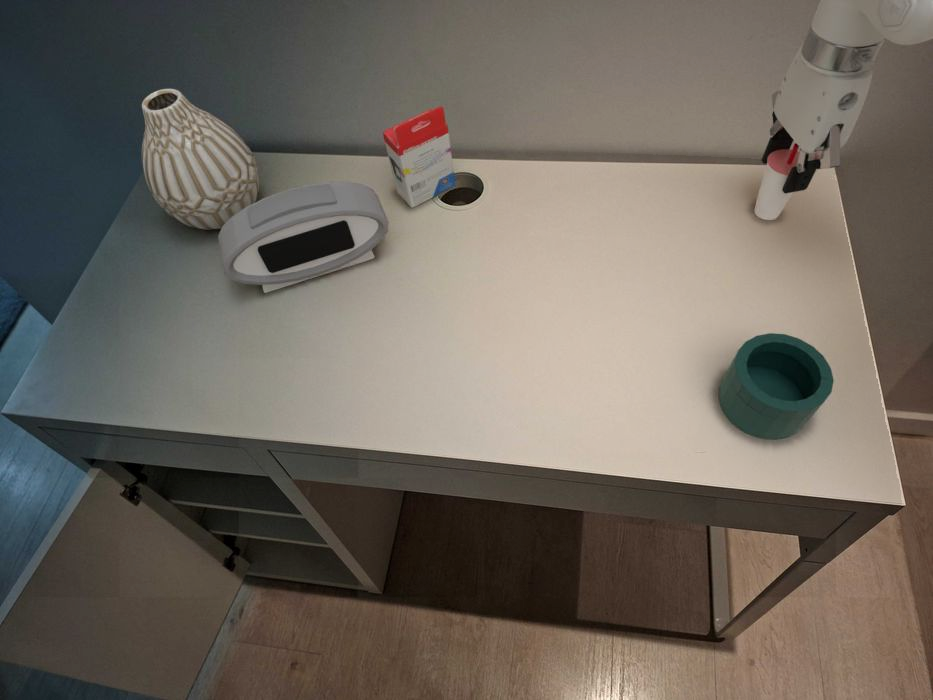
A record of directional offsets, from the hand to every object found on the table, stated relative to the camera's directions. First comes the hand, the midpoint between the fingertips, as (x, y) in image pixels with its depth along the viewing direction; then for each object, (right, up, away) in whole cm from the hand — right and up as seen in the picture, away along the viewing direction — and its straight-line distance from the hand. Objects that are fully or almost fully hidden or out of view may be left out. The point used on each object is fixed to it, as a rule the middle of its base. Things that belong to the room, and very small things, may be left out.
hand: (783, 174), depth 81 cm
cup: (+1, -4, +6) cm, 7 cm away
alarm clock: (-65, -11, +8) cm, 67 cm away
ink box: (-50, +2, +15) cm, 52 cm away
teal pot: (-8, -30, -11) cm, 33 cm away
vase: (-83, -1, +16) cm, 84 cm away
